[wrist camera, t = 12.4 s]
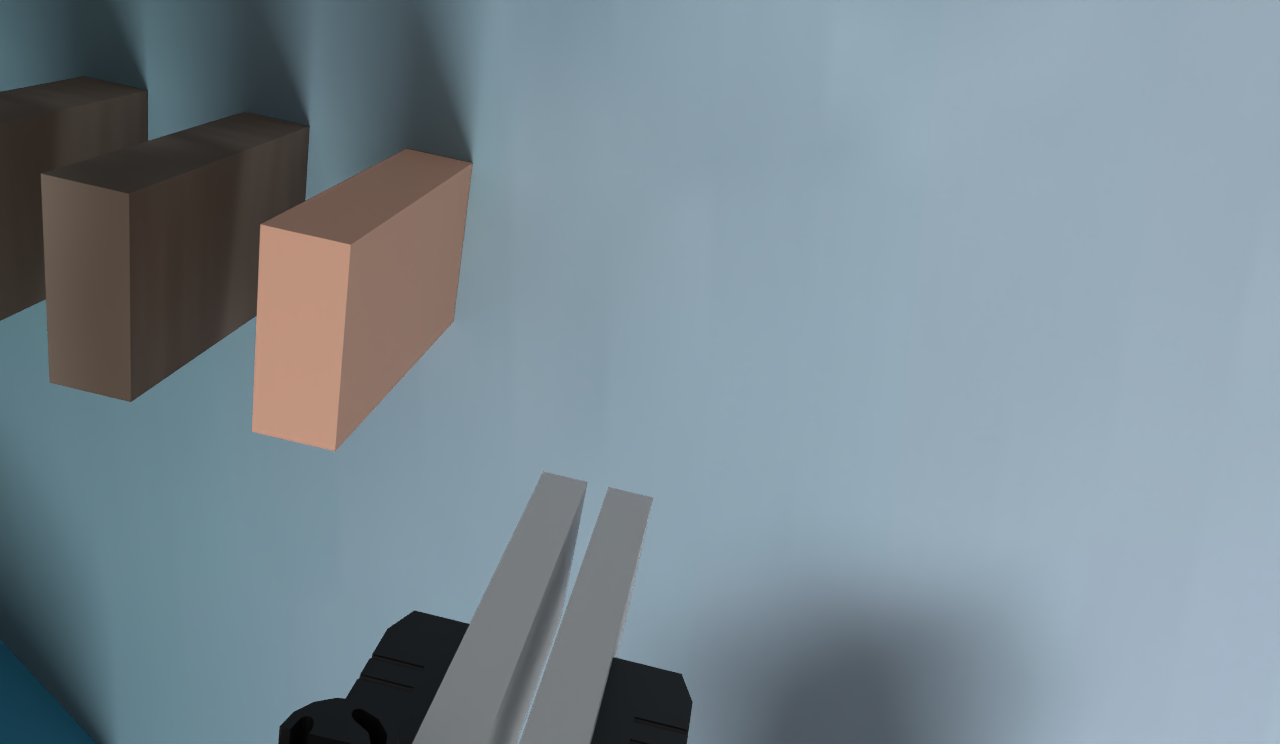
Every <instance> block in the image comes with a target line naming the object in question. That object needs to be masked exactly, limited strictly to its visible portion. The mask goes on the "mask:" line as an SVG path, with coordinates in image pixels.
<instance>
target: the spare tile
mask: <svg viewBox="0 0 1280 744" xmlns="http://www.w3.org/2000/svg"><path fill="white" fill-rule="evenodd" d="M472 164H473V163H470V162H466V161H461V160H456V159H452V158H447V157H443V156H438V155H433V154H429V153H424V152H420V151H415V150H411V149H405V150H403V151H401V152H399V153H397V154H395V155H393V156H391V157H389V158H387V159H385V160H383V161H381V162H380V163H378V164H376V165H374V166H372V167H370V168H368V169H366V170H364V171H362V172H360V173H358V174H356V175H355V176H353V177H351V178H349V179H347V180H345V181H343V182H341V183H339V184H337V185H335V186H333V187H331V188H330V189H328V190H326V191H324V192H322V193H320V194H318V195H316V196H314V197H312V198H310V199H308V200H306V201H305V202H303V203H301V204H299V205H297V206H295V207H293V208H291V209H289V210H287V211H285V212H283V213H281V214H280V215H278V216H276V217H274V218H272V219H270V220H268V221H266V222H264V223H262V224H260V246H259V272H258V297H257V322H256V347H255V372H254V397H253V422H252V432H256V433H260V434H264V435H269V436H273V437H277V438H281V439H285V440H290V441H294V442H298V443H302V444H307V445H311V446H315V447H319V448H324V449H328V450H332V451H336V450H337V449H338V447H339V446H340V445H341V444H342V443H343V442H344V441H345V440H346V439H347V438H348V436H349V435H350V434H351V433H352V432H353V431H354V430H355V429H356V428H357V427H358V426H359V424H360V423H361V422H362V421H363V420H364V419H365V418H366V417H367V416H368V415H369V414H370V412H371V411H372V410H373V409H374V408H375V407H376V406H377V405H378V404H379V403H380V401H381V400H382V399H383V398H384V397H385V396H386V395H387V394H388V393H389V392H390V391H391V389H392V388H393V387H394V386H395V385H396V384H397V383H398V382H399V381H400V380H401V378H402V377H403V376H404V375H405V374H406V373H407V372H408V371H409V370H410V369H411V368H412V366H413V365H414V364H415V363H416V362H417V361H418V360H419V359H420V358H421V357H422V356H423V354H424V353H425V352H426V351H427V350H428V349H429V348H430V347H431V346H432V345H433V343H434V342H435V341H436V340H437V339H438V338H439V337H440V336H441V335H442V334H443V333H444V331H445V330H446V329H447V328H448V327H449V326H450V325H451V324H452V323H453V321H454V313H455V304H456V296H457V288H458V280H459V271H460V263H461V255H462V247H463V238H464V230H465V222H466V214H467V205H468V197H469V189H470V181H471V172H472Z"/></svg>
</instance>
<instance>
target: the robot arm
mask: <svg viewBox="0 0 1280 744" xmlns="http://www.w3.org/2000/svg"><path fill="white" fill-rule="evenodd" d="M586 487H587V482H585V481H581V480H576V479H572V478H568V477H564V476H560V475H555V474H551V473H547V472H543V473H542V475H541V477H540V480H539V482H538V484H537V486H536V488H535V490H534V492H533V494H532V496H531V498H530V500H529V502H528V504H527V507H526V509H525V511H524V513H523V515H522V517H521V519H520V521H519V523H518V525H517V527H516V529H515V531H514V533H513V536H512V538H511V540H510V542H509V544H508V546H507V548H506V550H505V552H504V554H503V556H502V558H501V560H500V563H499V565H498V567H497V569H496V571H495V573H494V575H493V577H492V579H491V581H490V583H489V585H488V587H487V589H486V592H485V594H484V596H483V598H482V600H481V602H480V604H479V606H478V608H477V610H476V612H475V614H474V616H473V619H472V621H471V623H470V624H467V623H463V622H459V621H455V620H451V619H447V618H443V617H439V616H435V615H430V614H426V613H422V612H418V611H413V612H412V613H410V614H409V615H407V616H406V617H404V618H403V619H401V620H400V621H398V622H397V623H395V624H394V625H393V626H391V627H390V628H388V629H387V631H386V632H385V634H384V636H383V637H382V639H381V641H380V642H379V644H378V646H377V647H376V649H375V651H374V652H373V655H372V658H371V659H369V661H368V662H367V664H366V666H365V667H364V669H363V671H362V672H361V675H360V678H359V679H357V681H356V682H355V684H354V686H353V687H352V689H351V691H350V692H349V694H348V696H347V697H346V699H342V698H334V699H328V700H323V701H317V702H313V703H311V704H309V705H307V706H305V707H303V708H301V709H299V710H297V711H295V712H293V713H292V714H291V715H290V716H289V717H288V718H287V719H286V721H285V722H284V723H283V724H282V725H281V726H280V729H279V744H517V741H518V738H519V735H520V733H521V730H522V727H523V724H524V721H525V718H526V716H527V713H528V710H529V707H530V704H531V701H532V698H533V696H534V693H535V690H536V687H537V684H538V681H539V679H540V676H541V673H542V670H543V667H544V664H545V661H546V659H547V656H548V653H549V650H550V647H551V644H552V642H553V639H554V636H555V633H556V630H557V627H558V624H559V622H560V619H561V616H562V612H563V606H564V601H565V596H566V591H567V586H568V581H569V575H570V570H571V565H572V560H573V555H574V550H575V544H576V539H577V534H578V529H579V524H580V518H581V513H582V508H583V503H584V498H585V493H586ZM652 501H653V498H652V497H648V496H644V495H640V494H635V493H631V492H627V491H623V490H619V489H614V488H610V487H609V488H608V491H607V493H606V496H605V499H604V502H603V505H602V508H601V511H600V514H599V516H598V519H597V522H596V525H595V528H594V531H593V534H592V537H591V539H590V542H589V545H588V548H587V551H586V554H585V557H584V560H583V562H582V565H581V568H580V571H579V574H578V577H577V580H576V583H575V585H574V588H573V591H572V594H571V597H570V600H569V603H568V606H567V608H566V611H565V614H564V617H563V620H562V623H561V626H560V629H559V631H558V634H557V637H556V640H555V643H554V646H553V649H552V652H551V654H550V657H549V660H548V663H547V666H546V669H545V672H544V675H543V677H542V680H541V683H540V686H539V689H538V692H537V695H536V698H535V700H534V703H533V706H532V709H531V712H530V715H529V718H528V721H527V723H526V726H525V729H524V732H523V735H522V738H521V741H520V744H687V738H688V730H689V723H690V716H691V709H692V700H691V697H690V695H689V692H688V689H687V687H686V684H685V682H684V679H683V677H682V674H679V673H675V672H671V671H667V670H663V669H659V668H655V667H651V666H647V665H643V664H639V663H635V662H631V661H627V660H623V659H619V658H617V654H618V650H619V646H620V642H621V638H622V634H623V630H624V626H625V621H626V617H627V613H628V608H629V604H630V599H631V595H632V590H633V586H634V581H635V577H636V572H637V568H638V563H639V559H640V554H641V550H642V546H643V541H644V537H645V532H646V528H647V523H648V519H649V514H650V510H651V505H652Z"/></svg>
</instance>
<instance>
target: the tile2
mask: <svg viewBox="0 0 1280 744" xmlns="http://www.w3.org/2000/svg"><path fill="white" fill-rule="evenodd" d="M309 127H310V126H306V125H301V124H297V123H292V122H288V121H283V120H279V119H274V118H270V117H265V116H261V115H256V114H252V113H247V112H242V113H239V114H236V115H232V116H229V117H226V118H222V119H219V120H216V121H213V122H209V123H206V124H203V125H199V126H196V127H193V128H190V129H186V130H183V131H180V132H176V133H173V134H170V135H166V136H163V137H160V138H157V139H153V140H150V141H147V142H143V143H140V144H137V145H134V146H130V147H127V148H124V149H120V150H117V151H114V152H111V153H107V154H104V155H101V156H97V157H94V158H91V159H87V160H84V161H81V162H78V163H74V164H71V165H68V166H64V167H61V168H58V169H55V170H51V171H48V172H45V173H41V191H42V214H43V237H44V261H45V284H46V307H47V331H48V354H49V377H50V383H54V384H58V385H62V386H66V387H71V388H75V389H79V390H83V391H87V392H92V393H96V394H100V395H104V396H108V397H112V398H117V399H121V400H125V401H129V402H131V401H133V400H134V399H136V398H137V397H139V396H140V395H142V394H143V393H145V392H146V391H147V390H149V389H150V388H152V387H153V386H155V385H156V384H158V383H159V382H161V381H162V380H163V379H165V378H166V377H168V376H169V375H171V374H172V373H174V372H175V371H177V370H178V369H179V368H181V367H182V366H184V365H185V364H187V363H188V362H190V361H191V360H193V359H194V358H195V357H197V356H198V355H200V354H201V353H203V352H204V351H206V350H207V349H209V348H210V347H211V346H213V345H214V344H216V343H217V342H219V341H220V340H222V339H223V338H225V337H226V336H227V335H229V334H230V333H232V332H233V331H235V330H236V329H238V328H239V327H241V326H242V325H243V324H245V323H246V322H248V321H249V320H251V319H252V318H254V317H255V316H257V297H258V272H259V246H260V224H262V223H264V222H266V221H268V220H270V219H272V218H274V217H276V216H278V215H280V214H281V213H283V212H285V211H287V210H289V209H291V208H293V207H295V206H297V205H299V204H301V203H303V202H305V193H306V177H307V160H308V144H309Z"/></svg>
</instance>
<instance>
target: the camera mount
mask: <svg viewBox="0 0 1280 744" xmlns="http://www.w3.org/2000/svg"><path fill="white" fill-rule="evenodd" d="M0 744H96V743H95V742H94V740H93V739H92V738H91V737H90V736H89V735H88V734H87V733H86V732H85V731H84V730H83V729H82V727H81V726H80V725H79V724H78V723H77V722H76V721H75V720H74V719H73V718H72V717H71V716H70V714H69V713H68V712H67V711H66V710H65V709H64V708H63V707H62V706H61V705H60V704H59V703H58V702H57V700H56V699H55V698H54V697H53V696H52V695H51V694H50V693H49V692H48V691H47V690H46V689H45V687H44V686H43V685H42V684H41V683H40V682H39V681H38V680H37V679H36V678H35V677H34V676H33V675H32V673H31V672H30V671H29V670H28V669H27V668H26V667H25V666H24V665H23V664H22V663H21V662H20V660H19V659H18V658H17V657H16V656H15V655H14V654H13V653H12V652H11V651H10V650H9V649H8V647H7V646H6V645H5V644H4V643H3V642H2V641H1V640H0Z"/></svg>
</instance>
